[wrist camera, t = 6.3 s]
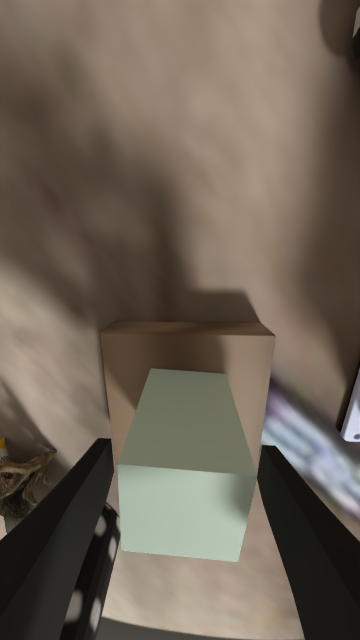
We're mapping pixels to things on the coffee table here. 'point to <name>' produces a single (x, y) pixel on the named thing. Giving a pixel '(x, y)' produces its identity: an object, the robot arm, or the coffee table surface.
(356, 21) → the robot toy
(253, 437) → the walnut plinth
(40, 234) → the coffee table surface
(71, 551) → the robot arm
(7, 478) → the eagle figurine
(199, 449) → the sage block
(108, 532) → the spotted tube
